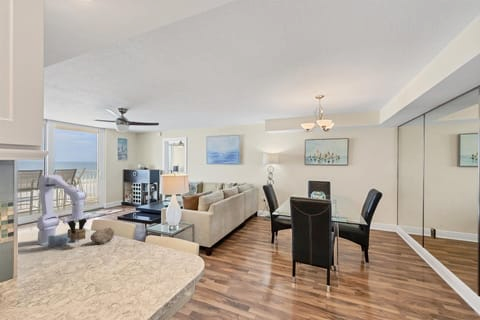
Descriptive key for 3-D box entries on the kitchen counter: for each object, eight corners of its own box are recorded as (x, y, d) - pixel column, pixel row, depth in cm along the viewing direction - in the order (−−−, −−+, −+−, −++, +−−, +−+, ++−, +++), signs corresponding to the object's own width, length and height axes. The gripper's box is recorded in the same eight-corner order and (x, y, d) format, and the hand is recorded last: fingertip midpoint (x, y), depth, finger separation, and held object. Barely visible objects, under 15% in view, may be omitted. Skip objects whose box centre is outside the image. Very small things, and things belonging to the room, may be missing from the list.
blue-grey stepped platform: (48, 247, 128) (48, 236, 129) (83, 237, 146) (83, 227, 146) (52, 248, 126) (52, 237, 126) (87, 238, 144) (87, 228, 144)
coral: (98, 247, 130) (92, 232, 131) (91, 249, 135) (86, 234, 135) (119, 237, 143) (114, 223, 143) (112, 239, 147) (107, 226, 147)
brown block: (67, 237, 133) (67, 229, 133) (73, 235, 136) (74, 228, 136) (78, 240, 127) (79, 231, 127) (85, 238, 130) (85, 230, 131)
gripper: (67, 213, 124) (66, 236, 123) (93, 209, 137) (92, 230, 136) (61, 212, 127) (60, 234, 126) (87, 208, 140) (86, 228, 139)
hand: (76, 232), depth 131 cm, fingers closed on brown block, 3 cm apart
